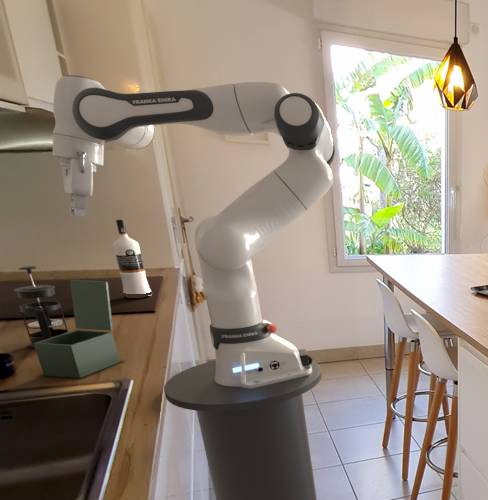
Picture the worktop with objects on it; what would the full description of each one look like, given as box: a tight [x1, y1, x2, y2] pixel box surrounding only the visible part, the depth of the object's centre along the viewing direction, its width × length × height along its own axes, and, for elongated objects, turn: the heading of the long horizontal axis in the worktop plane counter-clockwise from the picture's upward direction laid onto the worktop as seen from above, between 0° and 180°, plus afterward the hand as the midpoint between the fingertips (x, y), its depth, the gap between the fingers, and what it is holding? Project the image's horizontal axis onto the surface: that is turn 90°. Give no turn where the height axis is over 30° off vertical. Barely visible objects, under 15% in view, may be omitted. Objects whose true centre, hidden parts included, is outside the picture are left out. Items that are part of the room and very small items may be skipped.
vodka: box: [112, 219, 153, 297], centre depth 214 cm, size 9×9×30 cm
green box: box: [34, 329, 121, 379], centre depth 145 cm, size 12×10×9 cm
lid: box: [69, 279, 114, 332], centre depth 147 cm, size 13×10×1 cm
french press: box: [13, 265, 69, 349], centre depth 159 cm, size 12×9×23 cm
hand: (77, 215), depth 126 cm, fingers open, 8 cm apart
